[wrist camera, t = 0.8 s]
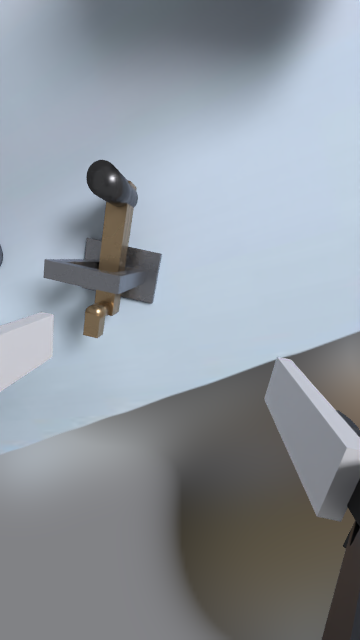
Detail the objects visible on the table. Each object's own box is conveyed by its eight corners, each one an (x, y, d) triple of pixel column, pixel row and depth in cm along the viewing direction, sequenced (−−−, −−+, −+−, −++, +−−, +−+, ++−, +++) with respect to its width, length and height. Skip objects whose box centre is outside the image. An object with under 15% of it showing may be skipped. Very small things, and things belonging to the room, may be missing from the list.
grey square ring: (89, 238, 38) (30, 227, 25) (161, 254, 38) (140, 251, 25) (84, 286, 40) (27, 300, 27) (152, 302, 40) (129, 323, 27)
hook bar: (114, 180, 33) (88, 157, 25) (139, 185, 33) (121, 163, 25) (97, 321, 38) (71, 337, 31) (118, 326, 38) (98, 343, 30)
